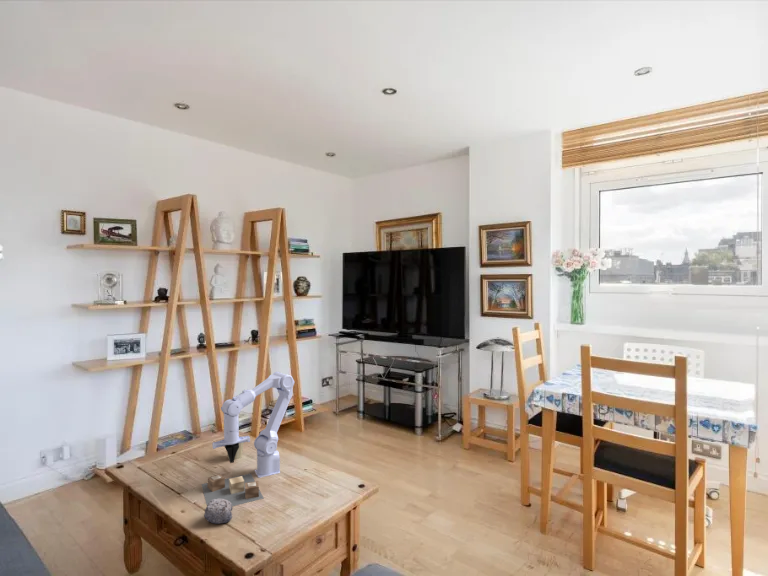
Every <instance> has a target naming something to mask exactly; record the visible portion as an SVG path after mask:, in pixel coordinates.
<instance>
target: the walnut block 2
mask: <svg viewBox="0 0 768 576" xmlns="http://www.w3.org/2000/svg"><path fill="white" fill-rule="evenodd" d="M259 490H260V486H259V480H255V481H254V482H248V483H245V499H249V498H255V497H259Z"/></svg>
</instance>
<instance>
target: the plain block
mask: <svg viewBox="0 0 768 576" xmlns="http://www.w3.org/2000/svg"><path fill="white" fill-rule="evenodd" d="M239 476H240V475H239ZM234 477H235V478H231V477H230V478H231V479H229V489H230V492H231V494H234V493H238V492H242V491H244V479H243V477H242V476H240V477H236V476H234Z"/></svg>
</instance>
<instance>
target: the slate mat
mask: <svg viewBox="0 0 768 576" xmlns="http://www.w3.org/2000/svg"><path fill="white" fill-rule="evenodd" d="M240 476H242V477H243V479H244V491H242V492H238V493H234V494H231V492H230V489H229V479H231V478H235V477H240ZM254 481H256V480H255V479H254V477H253V475H252V473H250V472H249V473H245V474H241V475H236V476H233V477H228V478H225V488H222V489H219V490H217V491H214V492H212V491H211V490H210V489H209V488H208V482H205V483H201V484H200V485H201V488H202V493H203V496H204V500H205V504H206V506H207V505H208V503H209V502H210V501H211V500H213V499H226V500H228V501H230V502H231V503H232V507H236V506H240V505H243V504H248V503H252V502H256V501H259V500H260V501H261V500H264V496H263V494H262V492H261V491H260V489H259V497H255V498H249V499H245V483H248V482H254Z"/></svg>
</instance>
